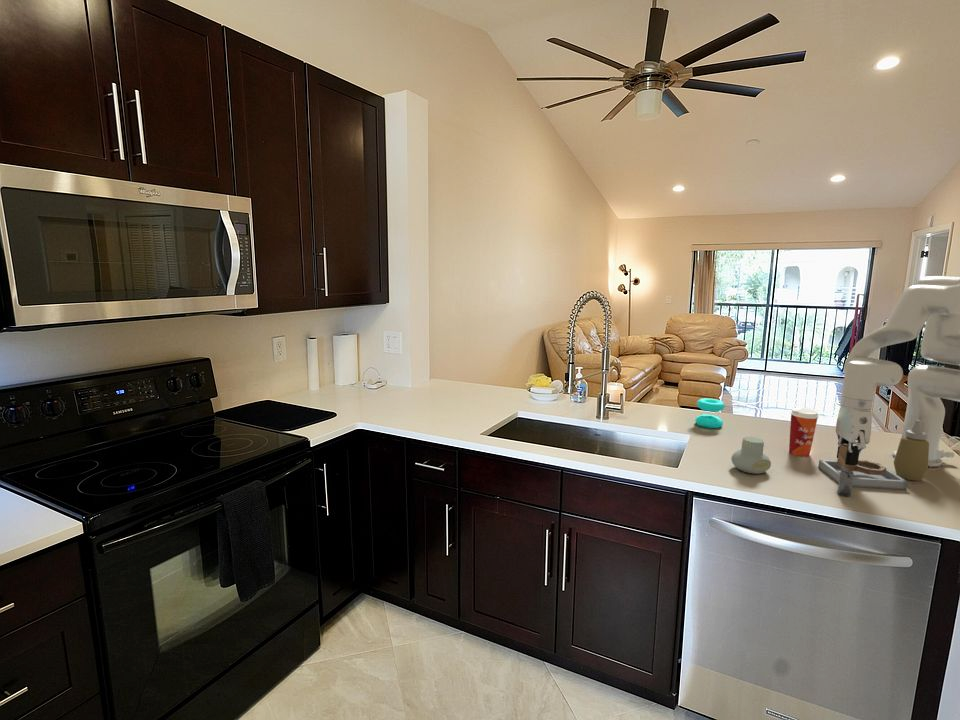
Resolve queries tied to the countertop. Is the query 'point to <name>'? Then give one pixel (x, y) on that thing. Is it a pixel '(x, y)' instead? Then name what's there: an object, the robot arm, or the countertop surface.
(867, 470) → the tabbed ring
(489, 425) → the countertop surface
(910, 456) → the squeeze bottle
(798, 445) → the coffee cup
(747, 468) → the air freshener
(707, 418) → the donuts
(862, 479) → the tray
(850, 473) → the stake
